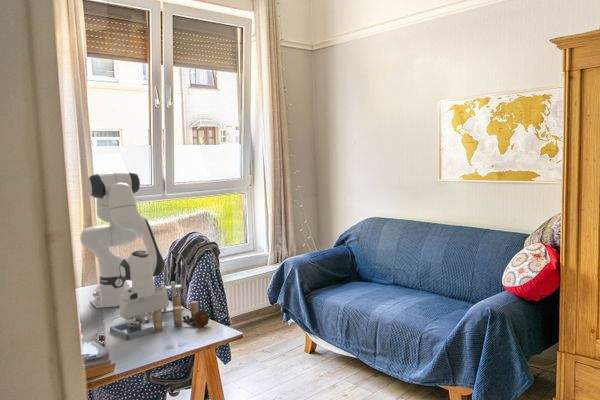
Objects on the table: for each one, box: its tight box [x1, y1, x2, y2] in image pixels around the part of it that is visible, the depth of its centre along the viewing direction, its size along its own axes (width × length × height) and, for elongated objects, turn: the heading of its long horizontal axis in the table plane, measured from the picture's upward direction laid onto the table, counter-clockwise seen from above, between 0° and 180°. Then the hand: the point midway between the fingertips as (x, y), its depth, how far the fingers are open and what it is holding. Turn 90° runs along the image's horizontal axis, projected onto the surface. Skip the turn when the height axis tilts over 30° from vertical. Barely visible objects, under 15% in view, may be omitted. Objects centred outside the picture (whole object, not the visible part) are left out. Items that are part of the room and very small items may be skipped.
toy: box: [181, 309, 210, 328], centre depth 200 cm, size 10×7×15 cm
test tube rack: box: [128, 281, 184, 319], centre depth 217 cm, size 25×4×13 cm, turn 111°
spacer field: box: [134, 295, 200, 333], centre depth 206 cm, size 19×21×7 cm
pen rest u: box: [109, 319, 154, 341], centre depth 194 cm, size 15×11×2 cm
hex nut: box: [125, 322, 143, 334], centre depth 195 cm, size 6×5×3 cm
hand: (146, 323), depth 199 cm, fingers closed
